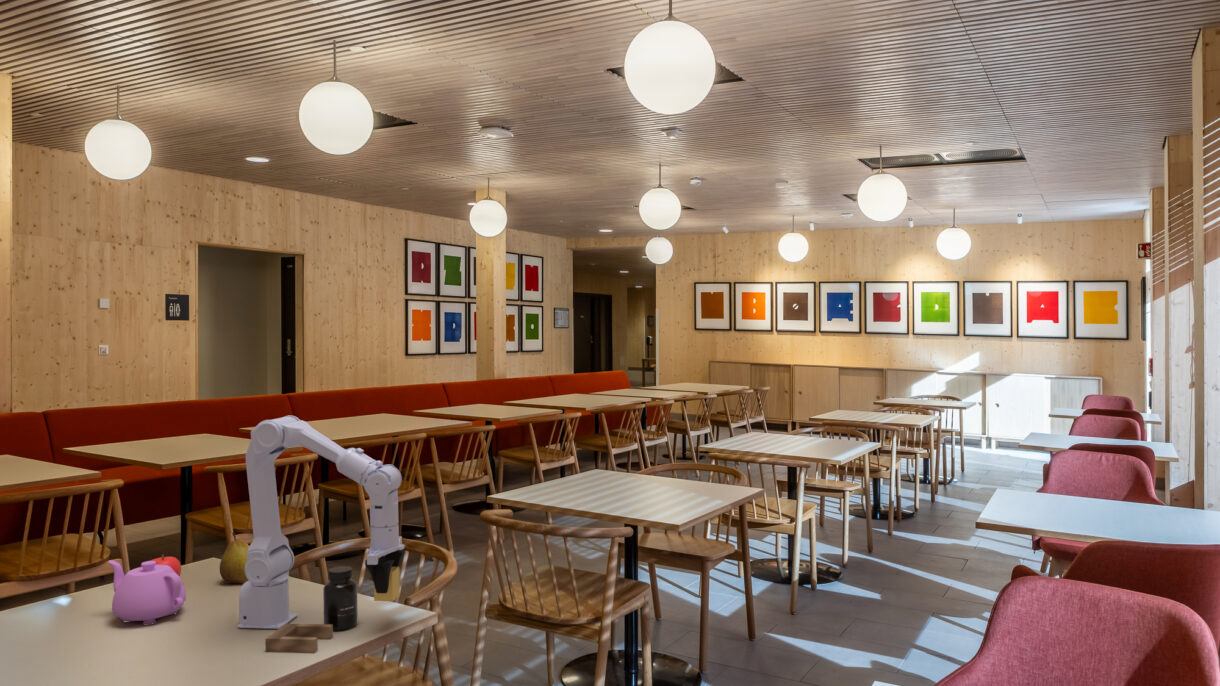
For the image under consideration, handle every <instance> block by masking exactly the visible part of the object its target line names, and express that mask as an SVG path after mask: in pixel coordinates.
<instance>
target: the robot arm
mask: <svg viewBox="0 0 1220 686" xmlns="http://www.w3.org/2000/svg"><path fill="white" fill-rule="evenodd" d="M296 447H297V448H298V447H303V448H306V449H307V450H309V451H312V452H313V453H315V454H317V455H319V456H321V457H323V458H324V459H327V460H329V461H331V462H332V463H335V466H336V470H337V472H339V473H340V474H342V475H344V476H345V477H347V478H348V479H350V480H353V481H354V482H356V483H358V484H359V485H360V486H363V488H364V491H365V492H366V494H367V495H368V496H369V517H370V518H369V524H370V525H369V527H370V528H369V530H370V531H369V532H370V546H369V551H368V554H367V555H366V559H365V560H364V566H365V568H367V570H368V572H369V573H370V576H371V578H372V583H373V587H374V586H375V589H376V592H377V593H387V591H388V586H389V576H390V571H391V567H399V568H400V565H401V562H402V559H403V557H404V555H405V551H406V550H405V544H403V540H402V539H403V536H400V533H399V532H400V531H399V495H398V494H399V492H398V491H399V490H398V489H399V488H400V487H401V484H402V481H403V479H402V478H403V477H402V474H401V472H400V470H399V469H398V467H396V466H395V465H394V464H390V463H389V464H383V461H381V460H376V459H373V458H372V457H370V456H369V455H367V454H366V453H364V452H365V450H364V449H362V448H361V447H358V448H355V447H349V448H344V447H343V446H340V445H339V444H338V443H336V442H335V441H333V440H331V439H330V438H329V437H327V436H325V435H324V434H323V433H321V432H319V431H317V430H316V429H315V428H314V427H312V426H311V425H310V424H309V423H308V422H307V421H305V420H302V419H299V417H297V416H295V415H288V414H287V415H285V416H283V417H278V418H273V419H265V420H262V421H260V422H258V424H257V425H256V426H255V427H254V428H253V429H252V430H251V431H250V442H249V444H248V448H247V450H246V453H245V467H246V475H247V476H246V477H247V484H248V494H249V503H250V514H251V522H252V523H251V524H252V525H251V526H252V532H253V540H252V541H251V543H250V545H249V546H250V547H249V548H248V550H247V562H246V565H245V575H246V577H247V579H248V580H249V581H247V582H245V583H243V584H242V585H241V587H240V590H239V595H238V611H239V612H238V613H239V623H238V624H237V628H238V629H266V630H267V629H268V630H269V629H272V630H273V629H274V630H275V629H276V630H278V629H279V628H281V627H282V626H283V625H285V624H289V622H292V620H293V619H295V618H296V617H298V613H295V612H292V613H291V612H290V595H289V594H290V593H289V591H290V588H289V585H290V584H289V576H290V570H291V569H292V568H293V567H294V564H295V555H294V552H293V550H292V549H291V547H290V543H289V538H288V537H286V535H284V534H283V533H282V527H281V519H280V517H281V515H280V507H279V500H278V497H279V496H278V490H277V479H276V469H275V461H276V459H277V458H278V457H279V456H280V455H282V453H283V452H284V451H285V450H287V449H288V448H296Z"/></svg>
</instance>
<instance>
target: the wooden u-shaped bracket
mask: <svg viewBox="0 0 1220 686" xmlns="http://www.w3.org/2000/svg"><path fill="white" fill-rule="evenodd" d="M333 638H334V631H333V625H331V624H324V623H287V624H285V625H283V626H282V627H281V628H279V629H276V630H275V631H274V632H272V633H271V634H269V635H268V636H267V637H266V638H265V639H264V640H265V642H264V643H265V645H264V646H265V652H277V653H278V652H279V653H280V652H282V653H283V652H284V653H309V654H310V653H311V654H312V653H313V654H314V653H316V652H317V651H318V650H319V648H318V645H319V644H318V640H331V639H333Z"/></svg>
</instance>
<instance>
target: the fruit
mask: <svg viewBox="0 0 1220 686" xmlns="http://www.w3.org/2000/svg"><path fill="white" fill-rule="evenodd" d="M231 534H232V536H233V540H232V541H230V542H229V543H228V544H227V547H226V548H225V551H224V553H223V555H222V557H221V559H220V563H219V574H220V576H221V578H222V580H223V581H224V582H225V583H227V584H231V585H232V584H235V585H237V584H240V585H241V584H242V585H243V584H244V583H245V582H247V581H249V580H248V579H247V577H246V575H245V565H246V562H247V550H248V548H249V547H250V545H249V544H248V543H247V542H246V541H245V540H243V539H241V538H240V539H239V538H237V537H236V534H235V532H231Z"/></svg>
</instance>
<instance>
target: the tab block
mask: <svg viewBox="0 0 1220 686" xmlns="http://www.w3.org/2000/svg"><path fill="white" fill-rule="evenodd" d="M400 579H401V578H400V566H399V567H391V571H390V576H389V586H388V591H387V593H377V592H376V589H375V586H374V585H373V601H375V602H393V601H395V600H396V599H397V598H398V597H399V596H400V595H401V594H400V593H401V592H400V591H401V590H400V588H401V587H400V586H401V585H400V584H401V582H400Z"/></svg>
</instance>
